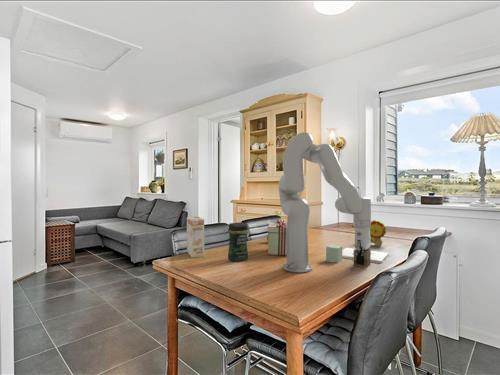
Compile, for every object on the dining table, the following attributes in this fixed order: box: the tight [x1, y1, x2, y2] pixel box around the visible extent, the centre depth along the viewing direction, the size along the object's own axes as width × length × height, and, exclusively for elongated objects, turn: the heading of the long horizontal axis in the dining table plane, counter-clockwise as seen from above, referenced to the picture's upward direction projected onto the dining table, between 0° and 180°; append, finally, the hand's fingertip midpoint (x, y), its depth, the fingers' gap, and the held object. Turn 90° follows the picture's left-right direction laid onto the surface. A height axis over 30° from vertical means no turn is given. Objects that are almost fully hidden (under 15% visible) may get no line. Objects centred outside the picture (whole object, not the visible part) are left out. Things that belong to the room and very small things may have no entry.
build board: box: [342, 247, 390, 264], centre depth 149 cm, size 18×22×1 cm
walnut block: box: [353, 248, 372, 268], centre depth 134 cm, size 6×6×7 cm
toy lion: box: [370, 219, 387, 247], centre depth 174 cm, size 16×5×15 cm, turn 58°
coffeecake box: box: [186, 216, 206, 259], centre depth 156 cm, size 15×7×20 cm, turn 22°
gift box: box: [267, 219, 287, 256], centre depth 160 cm, size 17×18×17 cm
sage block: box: [325, 244, 343, 264], centre depth 141 cm, size 6×6×7 cm
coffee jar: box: [227, 222, 249, 262], centre depth 144 cm, size 10×8×19 cm
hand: (362, 262), depth 134 cm, fingers closed on walnut block, 6 cm apart
